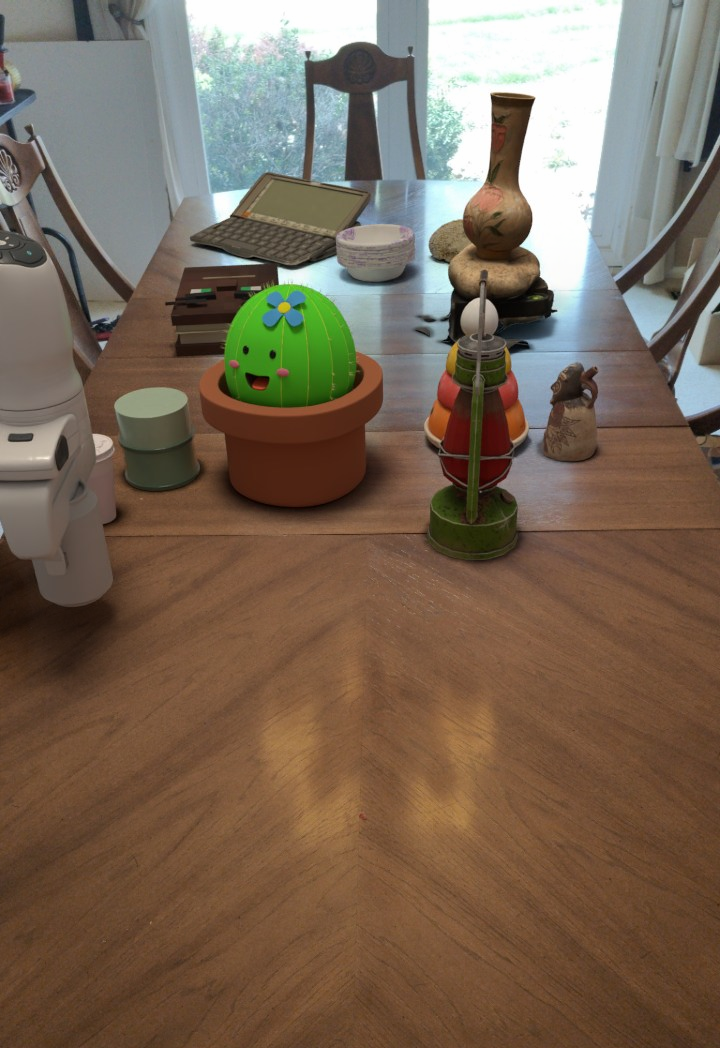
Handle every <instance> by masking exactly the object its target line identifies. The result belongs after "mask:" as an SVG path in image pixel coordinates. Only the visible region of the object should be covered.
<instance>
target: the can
mask: <svg viewBox="0 0 720 1048" xmlns="http://www.w3.org/2000/svg"><path fill="white" fill-rule="evenodd" d="M79 482H80V486H79V488H78V490H77V494H76V495H75V497H74V499H73V500H70V501H69V505H70V506H71V515H70V520H69V524H68V526H67V528H66V531H65V533H64V535H63V538H62V540H61V545H60V548H61V550H62V552H66V554H67V559H68V562H69V565H68V568H67V570H66V573H65V574H64V575H50V574H48V572H47V569H46V565H45V561H44V560H43V559H31V562H32V566H33V569H34V574H35V578H36V581H37V585H38V590H39V594H40V595H41V597H43V598H44V599H45V600H47V601H49V602H51V603H53V604H56V605H58V606H61V607H67V608H75V607H82V606H87V605H90V604H91V603H94V602H97V600H99V599H101V598H102V597H103V596H104V594H106V593H107V592H108V590H109V589H110V588H111V587H112V585H113V583H114V575H113V571H112V566H111V565H112V564H111V560H110V554H109V550H108V546H107V540H106V535H105V531H104V524H102V519H101V514H100V509H99V504H98V499H97V496H96V494H95V493H94V492H92V491H91V490H90V489H89V487H88V484H87V483H86V482H85V481H84V480H83V479H79Z"/></svg>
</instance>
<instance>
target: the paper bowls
mask: <svg viewBox="0 0 720 1048" xmlns="http://www.w3.org/2000/svg"><path fill="white" fill-rule="evenodd" d="M415 243H416V234H415V231H414V230H413V229H412V228H410V227H408V226H404V225H399V224H389V223H372V224H364V225H361V226H357V227H352V228H349V229H346V230H344V231H341V232H340V233H339V234H337V236H336V250H337V251H336V252H337V253H336V261H337V263H338V264H339V266H342V267H344V268H346V270H347V272H348V274H349V275H350V276H351V277H352V278H354V279H356V280H358V281H362V282H370V283H378V282H387V281H391V280H395V279H397V278H399V277H400V276H401V275H402V274H403V273H404V270H405V268H406V265H408V264H410V263H412V262H413V261H414V260H415V255H416V245H415Z"/></svg>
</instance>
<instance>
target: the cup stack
mask: <svg viewBox="0 0 720 1048" xmlns="http://www.w3.org/2000/svg"><path fill="white" fill-rule="evenodd" d="M113 408H114V409H113V410H114V414H115V419H116V425H117V430H118V435H117V442H118V444H119V446H120V447H121V449H122V455H123V458H124V459H123V460H124V465H125V471H124V477H125V481H126V482H127V483H128V485H129V486H131V487H133V488H135V489H137V490H140V491H148V492H164V491H170V490H174V489H178V488H182V487H184V486H186V485H188V484H190V483H192V482H193V481H194V480H196V479H197V478H198V477H199V475H200V473H201V463H200V462H199V460H198V458H197V452H196V445H195V439H194V438H195V436H196V430H195V426H194V425H193V423H192V418H191V411H190V405H189V397H188V395H187V394H186V393H185V392H184V391H182V390H179V389H177V388H171V387H162V386H161V387H159V386H157V387H146V388H140V389H137V390H136V389H135V390H133V391H130V392H128V393H125V394H124V395H122V396H120V397H119V398H118V399H117V400H116V401H115V402H114V405H113Z"/></svg>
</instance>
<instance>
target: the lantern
mask: <svg viewBox="0 0 720 1048" xmlns="http://www.w3.org/2000/svg"><path fill="white" fill-rule="evenodd" d="M487 279H488V271H487V270H482V271H481V273H480V279H479V286H480V287H481V288H480V306H479V326H478V333H476V334H472V335H468V336H464V337H462V338H460V339H459V340H458V342H457V347H458V350H457V359H456V361H455V372H454V374H453V375H452V380H453V383H455V384H456V385H458V386H459V387H461V388H460V390H459V392H458V395H457V397H456V399H455V402H454V405H453V408H452V411H451V414H450V417H449V420H448V423H447V428H446V432H445V436H444V438H443V439H442V441H441V442H440V443H439V446H440V448H439V450H438V453H437V457H438V458H439V464H440V467H441V470H442V471H441V472H442V474H443V477H445V478H446V479H447V480H448V481H449V482H451V484H449V485H448V486H444V487H443V488H441V489H439V490H438V491H436V492H435V493H434V494H433V496H432V497H431V499H430V500H429V525H428V527H427V531H426V535H427V540H428V541H427V542H428V543H429V545H431V546H432V547H433V549H435V550H436V551H437V552H439V553H441V554H443V555H446V556H448V557H450V558H453V559H459V560H466V561H483V560H490V559H493V558H497V557H500V556H504V555H505V554H507V553H508V552H509V551H511V550H513V548H515V546H516V544H517V541H518V540H519V533H518V530H517V523H518V509H519V505H518V502H517V499H516V496H515V495H513V494H512V493H510V492H509V491H508V490H507V489H505V488H502V487H500V486H498V484H500V483H502V482H503V481H505V480H506V479H507V478H508V475H509V473H510V471H511V468H512V466H513V460H514V459H515V455H514V452H515V448H516V447H515V446H514V444H513V442H512V440H511V439H510V436H509V429H508V422H507V418H506V414H505V409H504V405H503V401H502V398H501V395H500V392H499V389H498V388H499V387H501V386H503V385H505V384H506V383H507V381H508V376H507V374H506V373H505V372H506V361H505V357H506V352H505V350H504V349H505V347H506V342H505V340H504V339H505V338H503V337H501V336H498V335H496V336H495V334H493V335H491V334H488V333H485V332H484V330H485V309H486V288H487ZM442 445H443V446H442Z"/></svg>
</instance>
